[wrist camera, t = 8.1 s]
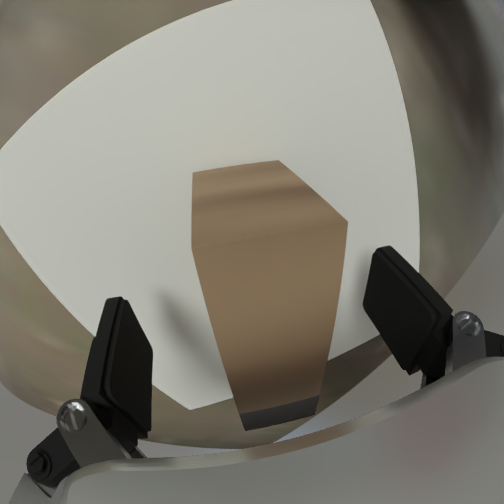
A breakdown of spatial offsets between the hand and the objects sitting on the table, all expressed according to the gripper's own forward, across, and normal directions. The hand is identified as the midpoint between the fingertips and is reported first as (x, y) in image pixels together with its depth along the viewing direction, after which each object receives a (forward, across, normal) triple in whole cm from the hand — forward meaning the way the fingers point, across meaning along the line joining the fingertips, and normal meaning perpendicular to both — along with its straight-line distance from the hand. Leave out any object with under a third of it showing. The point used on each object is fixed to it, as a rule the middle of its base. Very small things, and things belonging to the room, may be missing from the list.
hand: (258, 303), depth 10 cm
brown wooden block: (+2, 0, 0) cm, 2 cm away
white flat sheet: (+4, 0, 0) cm, 4 cm away
